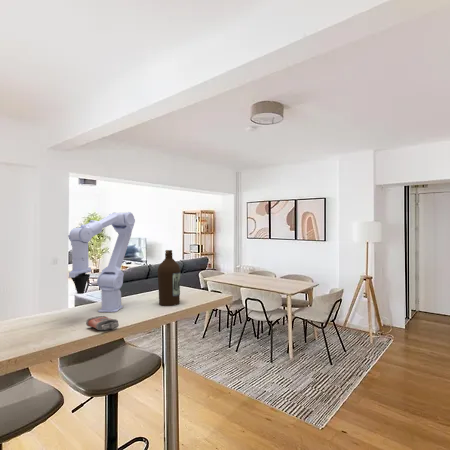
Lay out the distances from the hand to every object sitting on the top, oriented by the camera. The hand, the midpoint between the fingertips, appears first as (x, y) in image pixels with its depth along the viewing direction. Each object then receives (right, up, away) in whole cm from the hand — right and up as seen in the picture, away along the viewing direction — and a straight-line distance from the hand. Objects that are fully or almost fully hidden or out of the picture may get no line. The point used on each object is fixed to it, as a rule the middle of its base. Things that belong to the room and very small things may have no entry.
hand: (80, 293), depth 124 cm
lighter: (+9, -9, -7) cm, 14 cm away
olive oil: (+30, -10, +25) cm, 40 cm away
